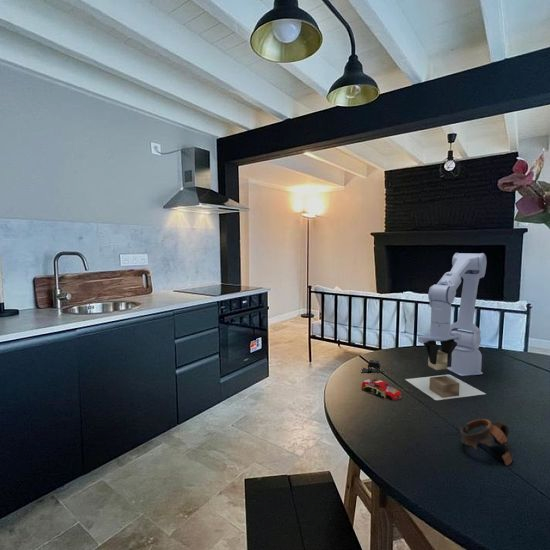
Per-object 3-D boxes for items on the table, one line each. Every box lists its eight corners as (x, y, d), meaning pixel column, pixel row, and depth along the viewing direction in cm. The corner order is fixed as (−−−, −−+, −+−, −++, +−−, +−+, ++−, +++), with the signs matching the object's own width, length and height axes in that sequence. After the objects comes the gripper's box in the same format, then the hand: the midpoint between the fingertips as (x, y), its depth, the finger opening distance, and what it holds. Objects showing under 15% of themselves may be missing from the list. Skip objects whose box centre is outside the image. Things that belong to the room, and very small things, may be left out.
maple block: (438, 364, 112) (439, 350, 111) (447, 368, 108) (447, 353, 108) (428, 365, 111) (428, 351, 111) (436, 370, 107) (436, 354, 107)
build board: (449, 375, 120) (449, 374, 120) (486, 395, 105) (486, 393, 105) (404, 380, 117) (404, 379, 117) (435, 401, 101) (435, 399, 101)
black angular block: (392, 372, 126) (392, 360, 125) (391, 379, 119) (391, 367, 119) (358, 367, 131) (358, 356, 130) (355, 374, 124) (355, 362, 123)
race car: (405, 399, 104) (405, 386, 103) (395, 404, 100) (395, 391, 100) (369, 385, 114) (369, 374, 114) (359, 390, 110) (359, 378, 110)
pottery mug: (505, 476, 70) (483, 438, 71) (466, 469, 78) (447, 435, 79) (530, 443, 76) (509, 409, 77) (492, 441, 84) (473, 410, 85)
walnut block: (445, 387, 110) (445, 375, 109) (459, 395, 104) (459, 383, 103) (429, 389, 108) (429, 377, 108) (442, 397, 103) (442, 385, 102)
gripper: (451, 317, 113) (449, 356, 114) (412, 320, 110) (411, 360, 111) (467, 322, 106) (465, 364, 107) (426, 325, 103) (425, 368, 104)
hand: (439, 362), depth 109 cm, fingers closed on maple block, 4 cm apart
